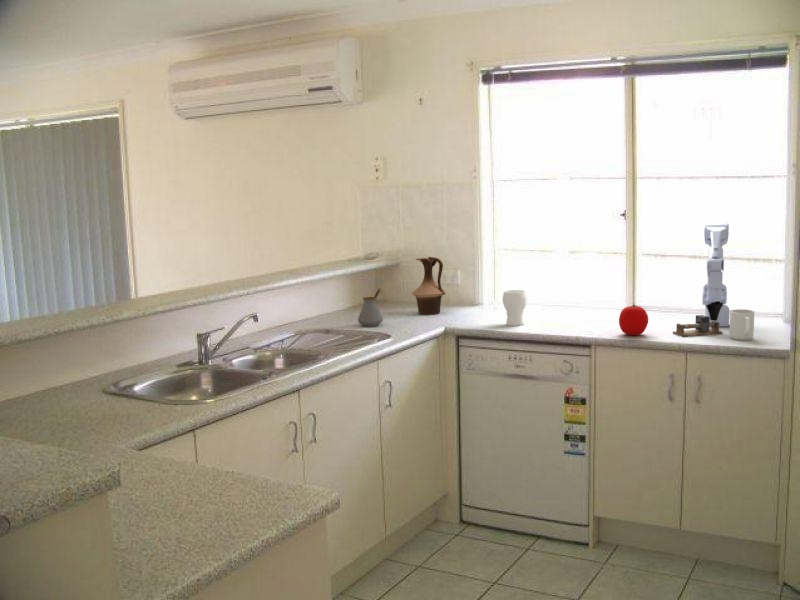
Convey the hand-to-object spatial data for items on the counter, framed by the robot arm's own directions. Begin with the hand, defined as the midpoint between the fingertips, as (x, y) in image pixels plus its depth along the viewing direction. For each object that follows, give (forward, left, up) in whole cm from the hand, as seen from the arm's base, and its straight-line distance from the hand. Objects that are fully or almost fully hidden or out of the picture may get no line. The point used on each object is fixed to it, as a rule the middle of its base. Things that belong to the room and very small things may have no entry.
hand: (713, 320), depth 352 cm
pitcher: (+99, -89, -5) cm, 133 cm away
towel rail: (+7, 0, -5) cm, 9 cm away
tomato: (+32, -7, -5) cm, 33 cm away
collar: (+5, 0, -4) cm, 7 cm away
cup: (+70, -46, -5) cm, 84 cm away
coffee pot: (+130, -71, -6) cm, 148 cm away
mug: (-3, +16, -6) cm, 17 cm away
